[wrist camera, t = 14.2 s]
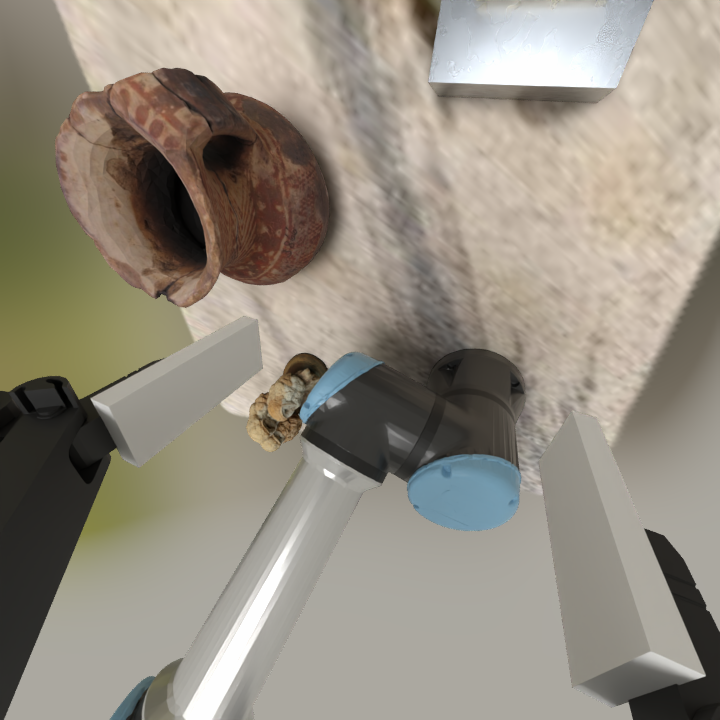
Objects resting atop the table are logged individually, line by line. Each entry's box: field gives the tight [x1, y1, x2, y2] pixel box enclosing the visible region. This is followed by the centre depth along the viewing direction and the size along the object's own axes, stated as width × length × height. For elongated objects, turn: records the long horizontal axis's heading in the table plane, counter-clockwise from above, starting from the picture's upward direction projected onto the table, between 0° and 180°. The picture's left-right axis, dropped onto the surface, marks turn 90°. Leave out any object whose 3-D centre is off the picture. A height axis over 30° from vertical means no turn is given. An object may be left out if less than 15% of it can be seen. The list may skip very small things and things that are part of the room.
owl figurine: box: [246, 353, 328, 452], centre depth 58 cm, size 18×12×17 cm, turn 168°
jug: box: [55, 68, 329, 308], centre depth 36 cm, size 22×21×25 cm
